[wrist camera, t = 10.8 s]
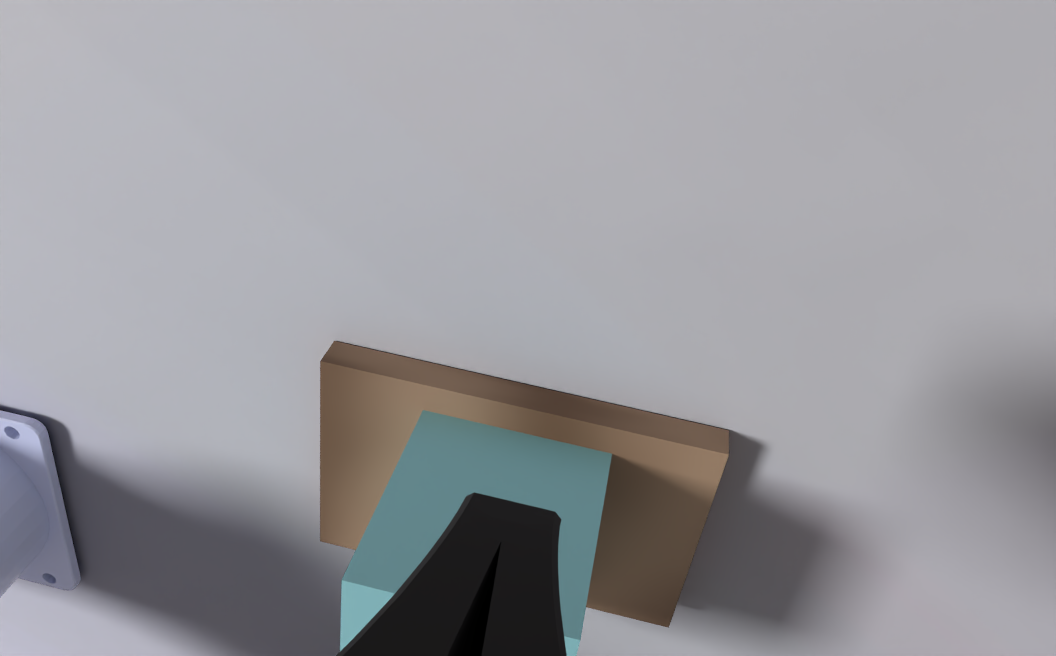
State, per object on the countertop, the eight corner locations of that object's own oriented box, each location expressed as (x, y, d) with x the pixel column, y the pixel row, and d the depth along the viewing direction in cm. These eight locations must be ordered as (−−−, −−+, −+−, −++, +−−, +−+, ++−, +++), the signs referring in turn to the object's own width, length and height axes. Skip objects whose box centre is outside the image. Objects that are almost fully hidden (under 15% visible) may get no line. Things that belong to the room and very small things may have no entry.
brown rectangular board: (332, 518, 28) (262, 650, 24) (334, 341, 24) (251, 461, 20) (670, 601, 27) (659, 754, 23) (728, 430, 23) (728, 576, 19)
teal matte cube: (411, 542, 27) (338, 720, 22) (423, 409, 24) (341, 580, 19) (579, 583, 26) (544, 775, 21) (612, 453, 23) (579, 640, 18)
